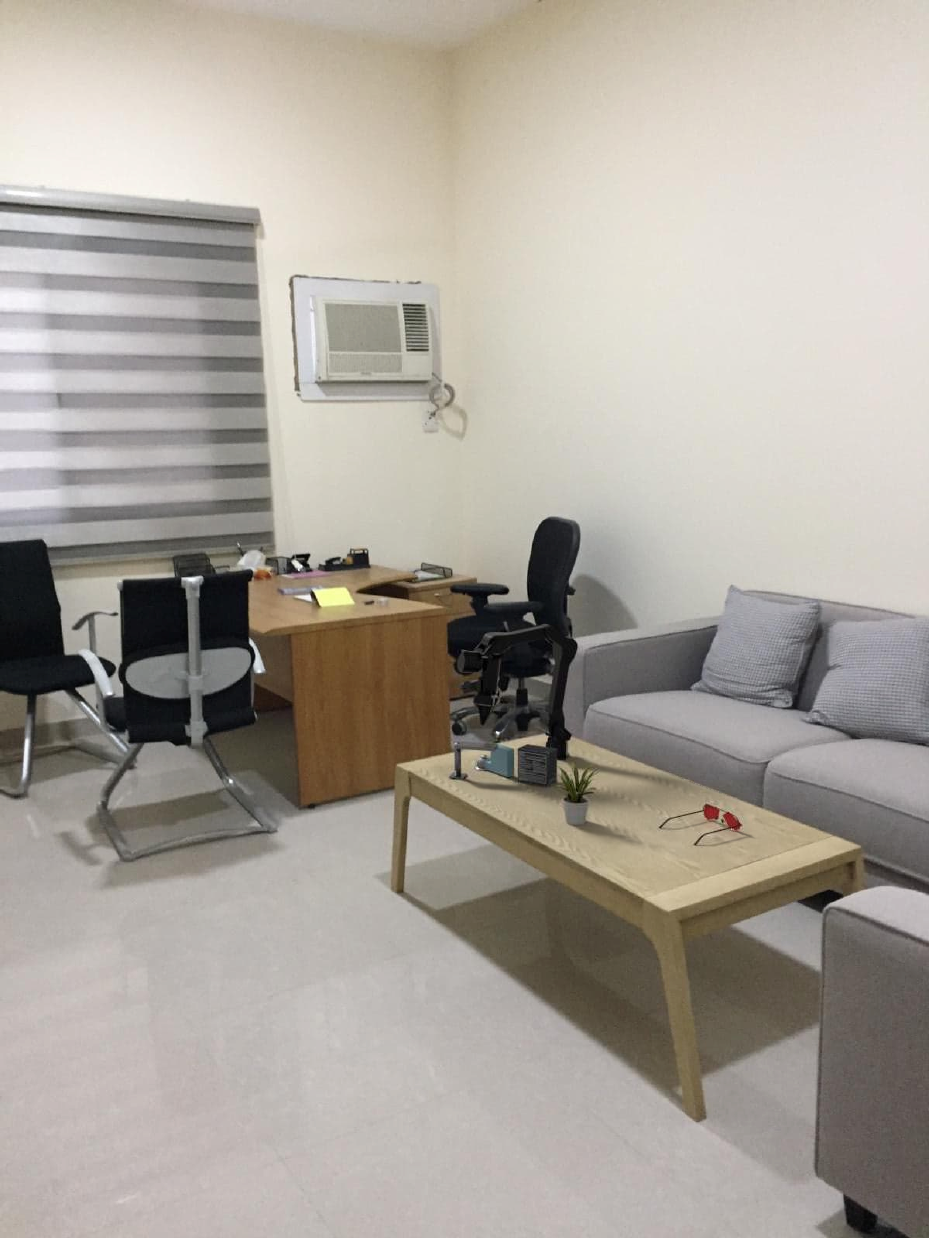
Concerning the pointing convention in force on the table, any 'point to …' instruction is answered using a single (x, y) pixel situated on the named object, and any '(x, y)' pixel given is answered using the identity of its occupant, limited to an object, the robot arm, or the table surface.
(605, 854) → the table surface
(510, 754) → the link
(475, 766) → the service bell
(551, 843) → the table surface
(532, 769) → the small box
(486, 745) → the keeper
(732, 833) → the table surface
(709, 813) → the glasses
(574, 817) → the house plant
